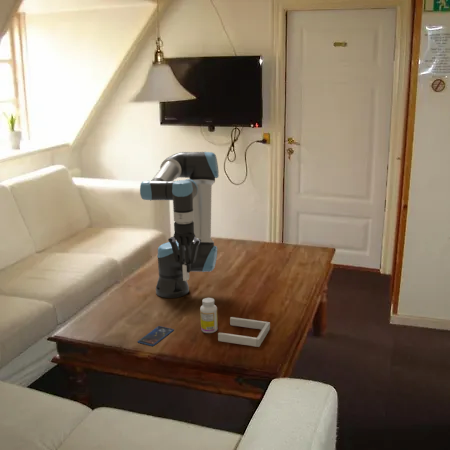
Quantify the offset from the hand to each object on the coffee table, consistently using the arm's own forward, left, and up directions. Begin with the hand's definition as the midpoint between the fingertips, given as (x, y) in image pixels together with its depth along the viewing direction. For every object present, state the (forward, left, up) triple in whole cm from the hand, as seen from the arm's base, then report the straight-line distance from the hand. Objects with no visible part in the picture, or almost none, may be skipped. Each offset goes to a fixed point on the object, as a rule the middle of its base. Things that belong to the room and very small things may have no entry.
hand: (186, 279), depth 227 cm
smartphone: (-9, -11, -21) cm, 25 cm away
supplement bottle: (+9, 0, -21) cm, 23 cm away
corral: (+23, 0, -20) cm, 31 cm away
